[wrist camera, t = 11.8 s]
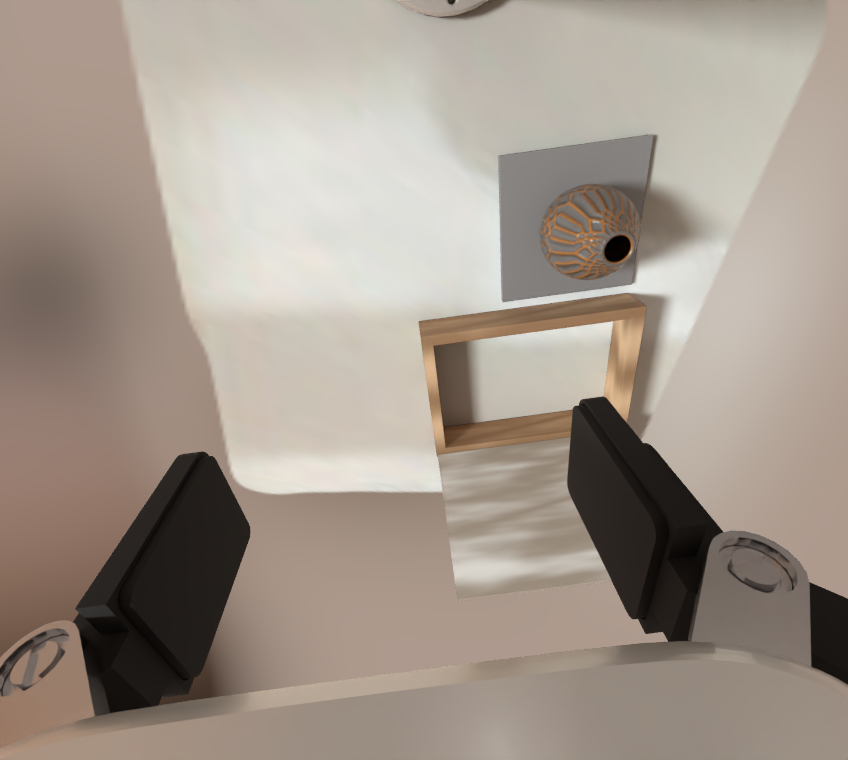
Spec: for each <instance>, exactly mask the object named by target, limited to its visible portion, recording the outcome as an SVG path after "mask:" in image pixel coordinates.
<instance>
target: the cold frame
mask: <svg viewBox="0 0 848 760" xmlns="http://www.w3.org/2000/svg"><path fill="white" fill-rule="evenodd" d="M646 309H647V306H646V305H644V304H643V303H641V302H640V301H639V300H637V299H636V298H634V297H633V296H631V295H630V294H628V293H624V294H616V295H609V296H602V297H594V298H587V299H580V300H572V301H565V302H558V303H550V304H543V305H536V306H528V307H521V308H514V309H506V310H499V311H492V312H484V313H477V314H470V315H462V316H455V317H448V318H440V319H433V320H426V321H419V328H420V335H421V343H422V350H423V357H424V365H425V372H426V379H427V387H428V394H429V401H430V409H431V416H432V423H433V431H434V438H435V445H436V453H437V456H438V460H439V468H440V475H441V482H442V490H443V497H444V504H445V511H446V519H447V526H448V534H449V541H450V549H451V556H452V562H453V570H454V578H455V585H456V593H457V600H458V601H465V600H473V599H481V598H488V597H496V596H504V595H510V594H519V593H526V592H533V591H542V590H549V589H557V588H565V587H572V586H580V585H588V584H595V583H603V582H611V581H612V580H611V578H610V576H609V574H608V572H607V570H606V568H605V566H604V564H603V562H602V560H601V558H600V556H599V554H598V552H597V550H596V548H595V546H594V543H593V541H592V539H591V537H590V535H589V533H588V531H587V529H586V527H585V525H584V523H583V521H582V519H581V517H580V515H579V513H578V511H577V509H576V506H575V504H574V502H573V500H572V498H571V496H570V494H569V491H568V486H567V475H568V463H569V450H570V438H571V425H572V412H573V410H569V411H561V412H554V413H547V414H539V415H532V416H524V417H517V418H509V419H502V420H495V421H487V422H480V423H472V424H465V425H457V426H450V427H443V423H442V414H441V406H440V398H439V390H438V381H437V373H436V365H435V356H434V348H433V346H434V345H442V344H449V343H456V342H464V341H471V340H478V339H486V338H493V337H500V336H508V335H515V334H523V333H530V332H537V331H545V330H552V329H559V328H567V327H574V326H581V325H589V324H596V323H603V322H611V321H614V322H613V329H612V337H611V345H610V352H609V360H608V368H607V376H606V383H605V391H604V397H606V398H607V399H608V400H609V401H610V403H611V404H612V405H613V406H614V408H615V409H616V410H617V411H618V413H619V414H620V415H621V416H622V418H623V419H624V420H625V421H626V423H627V419H628V413H629V408H630V402H631V396H632V390H633V384H634V379H635V373H636V367H637V361H638V355H639V349H640V344H641V338H642V332H643V326H644V320H645V314H646Z"/></svg>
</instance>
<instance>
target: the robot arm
mask: <svg viewBox="0 0 848 760" xmlns="http://www.w3.org/2000/svg"><path fill="white" fill-rule="evenodd" d="M396 1H397V2H399V3H400V4H401V5H403V6H404V7H407V8H409V9H411V10H414V11H416V12H418V13H420V14H425V15H431V16H437V17H442V16H455V15H459V14H462V13H465V12H468V11H471V10H474V9H475V8H477V7H479V6H480V5H482V4H484V3H485V2H487V1H489V0H455V3H454V4H449V3H448V0H396ZM567 486H568V491H569V494H570V496H571V498H572V500H573V502H574V504H575V506H576V509H577V511H578V513H579V515H580V517H581V519H582V521H583V523H584V525H585V527H586V529H587V531H588V533H589V535H590V537H591V539H592V541H593V543H594V546H595V548H596V550H597V552H598V554H599V556H600V558H601V560H602V562H603V564H604V566H605V568H606V570H607V572H608V574H609V576H610V578H611V580H612V582H613V585H614V587H615V589H616V591H617V592H618V595H619V597H620V599H621V601H622V603H623V605H624V607H625V609H626V611H627V613H628V614H629V616H630V617H631V618H632V619H638V620H639V622H640V624H641V626H642V628H643V630H644V632H645V633H646V634H648V633H657V632H663V633H664V634H665V636H666V638H667V640H668V642H657V643H640V644H631V645H621V646H612V647H602V648H593V649H584V650H574V651H566V652H558V653H549V654H541V655H534V656H525V657H517V658H510V659H502V660H494V661H486V662H478V663H470V664H462V665H454V666H446V667H438V668H431V669H423V670H415V671H408V672H400V673H392V674H385V675H377V676H369V677H362V678H354V679H348V680H340V681H332V682H324V683H317V684H309V685H302V686H295V687H287V688H280V689H272V690H265V691H259V692H251V693H243V694H236V695H229V696H222V697H214V698H207V699H200V700H192V701H185V702H179V703H172V704H166V705H160V706H158V705H159V703H160V700H161V698H162V696H163V697H171V696H178V695H185V694H188V693H189V690H190V687H191V685H192V682H193V679H194V677H197V676H198V675H199V674H200V673H201V671H202V669H203V667H204V664H205V661H206V659H207V655H208V653H209V650H210V647H211V645H212V642H213V639H214V636H215V633H216V630H217V628H218V625H219V622H220V620H221V617H222V614H223V611H224V608H225V605H226V602H227V600H228V597H229V594H230V591H231V589H232V586H233V583H234V580H235V577H236V575H237V572H238V569H239V566H240V563H241V561H242V558H243V555H244V552H245V549H246V547H247V544H248V541H249V538H250V526H249V523H248V522H247V519H246V518H245V515H244V514H243V512H242V510H241V508H240V506H239V504H238V502H237V500H236V498H235V496H234V494H233V492H232V490H231V488H230V486H229V485H228V482H227V480H226V478H225V476H224V475H223V473H222V471H221V469H220V467H219V465H218V463H217V461H216V459H215V458H214V457H213V456H209V455H208V454H207V453H205V452H196V453H189V454H182V455H179V456H178V457H177V458H176V459H175V461H174V462H173V464H172V465H171V467H170V468H169V470H168V471H167V473H166V474H165V476H164V477H163V479H162V480H161V482H160V483H159V485H158V486H157V488H156V489H155V491H154V492H153V494H152V495H151V497H150V498H149V499H148V501H147V503H146V504H145V505H144V507H143V509H142V510H141V511H140V513H139V514H138V516H137V517H136V519H135V520H134V522H133V523H132V525H131V526H130V528H129V530H128V531H127V532H126V534H125V535H124V537H123V538H122V540H121V541H120V543H119V544H118V546H117V547H116V549H115V550H114V552H113V553H112V555H111V556H110V558H109V559H108V561H107V562H106V564H105V565H104V567H103V568H102V570H101V571H100V573H99V574H98V576H97V577H96V579H95V580H94V582H93V583H92V585H91V586H90V587H89V589H88V591H87V592H86V593H85V595H84V596H83V598H82V599H81V601H80V602H79V604H78V605H77V607H76V608H75V609H76V610H77V611H78V612H79V614H78V616H77V617H76V618H75V620H74V622H70V621H67V620H66V621H56V622H52V623H49V624H46V625H44V626H42V627H40V628H38V629H36V630H34V631H32V632H31V633H29V634H28V635H26V636H25V637H23V638H22V639H21V640H19V641H18V642H16V643H15V644H14V645H13V646H12V647H11V648H10V649H9V650H8V651H7V652H6V653H5V654H3V655H2V657H1V658H0V760H848V599H847V598H845V597H843V596H840V595H838V594H835V593H833V592H831V591H829V590H826V589H824V588H822V587H819V586H817V585H814V584H812V583H810V582H809V580H808V576H807V573H806V571H805V570H804V568H803V567H802V565H801V563H800V562H799V561H798V560H797V559H796V558H795V557H794V556H793V555H792V554H791V553H790V552H789V551H788V550H786V549H785V548H783V547H782V546H780V545H778V544H777V543H775V542H774V541H771V540H769V539H767V538H765V537H763V536H760V535H757V534H753V533H749V532H745V531H728V532H723V531H722V530H721V529H720V527H719V526H718V525H717V524H716V523H715V521H714V520H713V519H712V518H711V517H710V515H709V514H708V513H707V512H706V510H705V509H704V508H703V507H702V506H701V504H700V503H699V502H698V501H697V500H696V498H695V497H694V496H693V495H692V494H691V492H690V491H689V490H688V489H687V487H686V486H685V485H684V484H683V483H682V482H681V480H680V479H679V478H678V477H677V476H676V474H675V473H674V472H673V471H672V470H671V468H670V467H669V466H668V464H667V463H666V462H665V461H664V460H663V458H662V457H661V456H660V455H659V454H658V452H657V451H656V450H655V449H654V448H653V447H652V446H651V445H649V444H647V443H642V441H641V440H640V439H639V438H638V436H637V435H636V434H635V433H634V431H633V430H632V429H631V428H630V426H629V425H628V424H627V423H626V421H625V420H624V419H623V418H622V416H621V415H620V414H619V413H618V411H617V410H616V409H615V408H614V406H613V405H612V404H611V403H610V401H609V400H608V399H607V398H606V397H596V398H589V399H582V400H581V401H580V403H579V406H574V408H573V412H572V425H571V438H570V450H569V463H568V475H567Z"/></svg>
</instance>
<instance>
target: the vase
mask: <svg viewBox="0 0 848 760" xmlns="http://www.w3.org/2000/svg"><path fill="white" fill-rule="evenodd" d="M640 229H641V227H640V219H639V215H638V212H637V210H636V208H635V206H634V205H633V203H632V202H631V200H630V199H629V198H628V197H627V196H626V195H625V194H623V193H622V192H621V191H619V190H617V189H615V188H613V187H610V186H607V185H602V184H584V185H580V186H576V187H574V188H571V189H569V190H567V191H566V192H564V193H562V194H561V195H560V196H558V197H557V198H556V199H555V200H554V201H553V202H552V203H551V205H550V206H549V207H548V209H547V210H546V212H545V214H544V216H543V219H542V222H541V226H540V234H539V236H540V245H541V249H542V252H543V254H544V256H545V258H546V259H547V261H548V262H549V263H550V265H551V266H552V267H553V268H554V269H556V270H557V271H558V272H560V273H561V274H563V275H565V276H567V277H570V278H573V279H579V280H595V279H600V278H603V277H606V276H608V275H610V274H612V273H614V272H616V271H617V270H619V269H620V268H621V267H622V266H623V265H624V264H625V263H626V262H627V261H628V260H629V259H630V258H631V257H632V255H633V253H634V251H635V249H636V247H637V245H638V242H639V237H640Z"/></svg>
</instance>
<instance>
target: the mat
mask: <svg viewBox="0 0 848 760" xmlns="http://www.w3.org/2000/svg"><path fill="white" fill-rule="evenodd" d="M652 142H653V135H644V136H637V137H629V138H622V139H615V140H608V141H601V142H594V143H586V144H579V145H572V146H565V147H558V148H551V149H544V150H536V151H529V152H522V153H515V154H508V155H501V156H499V199H500V243H501V288H502V301H503V302H507V301H514V300H521V299H529V298H536V297H543V296H551V295H558V294H565V293H573V292H580V291H587V290H594V289H602V288H609V287H616V286H624V285H631V284H632V278H633V271H634V265H635V258H636V251H637V247H636V249H635V251H634V253H633V255H632V257H631V258H630V259H629V260H628V261H627V262H626V263H625V264H624V265H623V266H622V267H621V268H620V269H619V270H617V271H616V272H614V273H612V274H610V275H608V276H606V277H603V278H600V279H595V280H579V279H573V278H570V277H567V276H565V275H563V274H561V273H560V272H558V271H557V270H556V269H554V268H553V267H552V266H551V265H550V263H549V262H548V261H547V259H546V258H545V256H544V254H543V252H542V249H541V245H540V236H539V234H540V226H541V222H542V219H543V216H544V214H545V212H546V210H547V209H548V207H549V206H550V205H551V203H552V202H553V201H554V200H555V199H556V198H557V197H558V196H560V195H561V194H562V193H564V192H566V191H567V190H569V189H571V188H574V187H576V186H580V185H584V184H602V185H607V186H610V187H613V188H615V189H617V190H619V191H621V192H622V193H623V194H625V195H626V196H627V197H628V198H629V199H630V200H631V202H632V203H633V205H634V206H635V208H636V210H637V212H638V215H639V219H640V224H641V217H642V210H643V203H644V196H645V190H646V183H647V176H648V169H649V162H650V156H651V149H652Z"/></svg>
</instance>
